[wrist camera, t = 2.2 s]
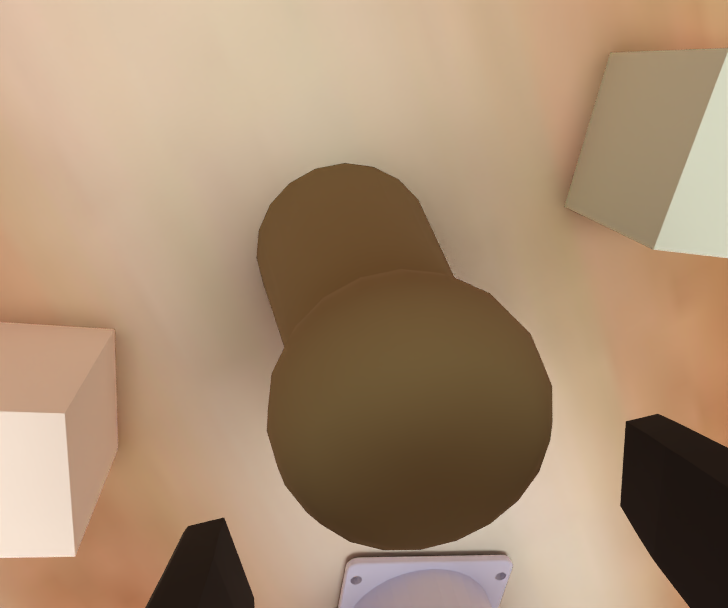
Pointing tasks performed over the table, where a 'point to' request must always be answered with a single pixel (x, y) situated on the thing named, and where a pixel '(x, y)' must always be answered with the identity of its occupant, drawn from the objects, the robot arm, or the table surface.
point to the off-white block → (54, 434)
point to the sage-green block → (659, 151)
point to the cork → (392, 369)
